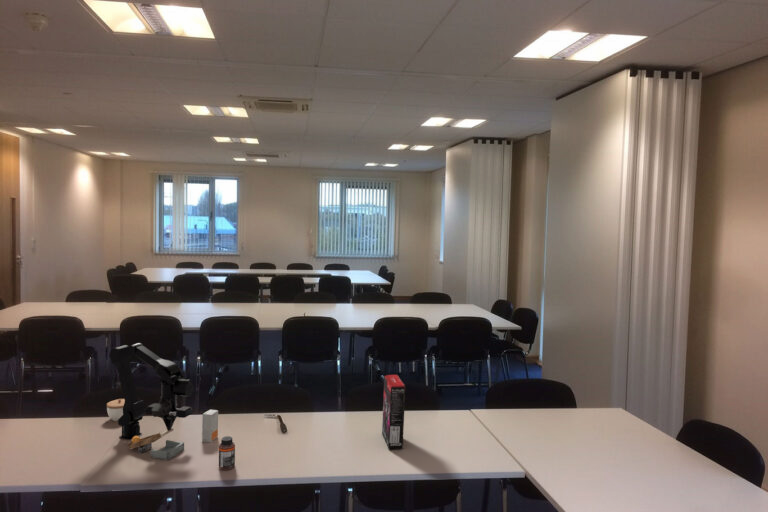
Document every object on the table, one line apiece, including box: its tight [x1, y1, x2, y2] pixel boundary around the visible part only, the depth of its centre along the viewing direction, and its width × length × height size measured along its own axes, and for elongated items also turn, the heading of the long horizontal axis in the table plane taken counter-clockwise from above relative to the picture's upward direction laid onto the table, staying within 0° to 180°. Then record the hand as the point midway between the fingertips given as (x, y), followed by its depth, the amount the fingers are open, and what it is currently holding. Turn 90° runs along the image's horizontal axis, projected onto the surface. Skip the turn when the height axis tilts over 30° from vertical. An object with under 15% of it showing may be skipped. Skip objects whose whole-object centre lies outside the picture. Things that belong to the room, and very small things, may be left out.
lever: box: [127, 428, 174, 450], centre depth 212 cm, size 12×13×2 cm
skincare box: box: [201, 409, 219, 443], centre depth 220 cm, size 6×4×12 cm
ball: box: [131, 436, 141, 443], centre depth 209 cm, size 3×3×3 cm
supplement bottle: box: [218, 435, 236, 471], centre depth 195 cm, size 6×6×11 cm
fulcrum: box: [137, 443, 153, 455], centre depth 208 cm, size 2×6×2 cm, turn 167°
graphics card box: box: [381, 374, 406, 450], centre depth 222 cm, size 17×7×27 cm, turn 10°
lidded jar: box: [106, 398, 125, 422], centre depth 241 cm, size 11×11×9 cm
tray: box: [150, 439, 185, 461], centre depth 205 cm, size 8×10×3 cm
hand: (169, 430), depth 215 cm, fingers closed, pressing on lever
